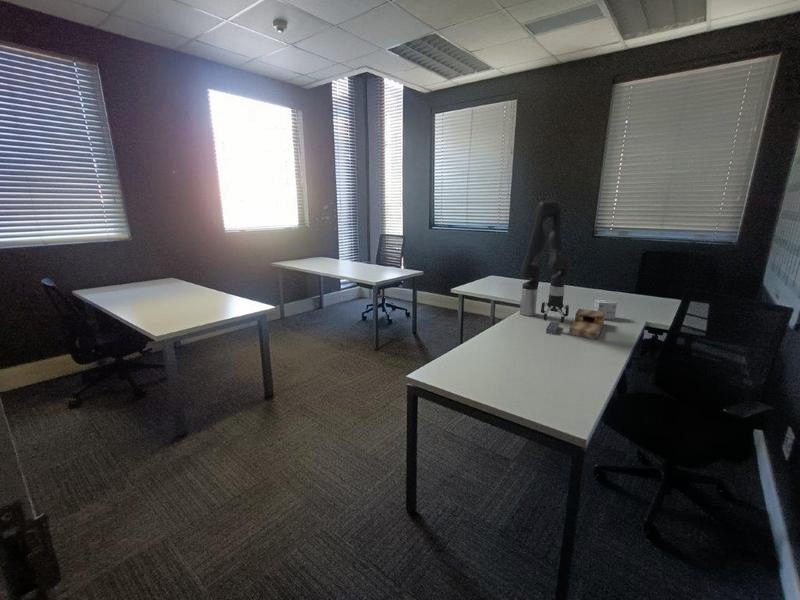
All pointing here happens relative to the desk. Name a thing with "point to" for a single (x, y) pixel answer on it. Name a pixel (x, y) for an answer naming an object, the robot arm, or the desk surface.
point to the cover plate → (552, 327)
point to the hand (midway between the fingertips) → (553, 321)
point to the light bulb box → (606, 308)
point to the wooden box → (587, 323)
